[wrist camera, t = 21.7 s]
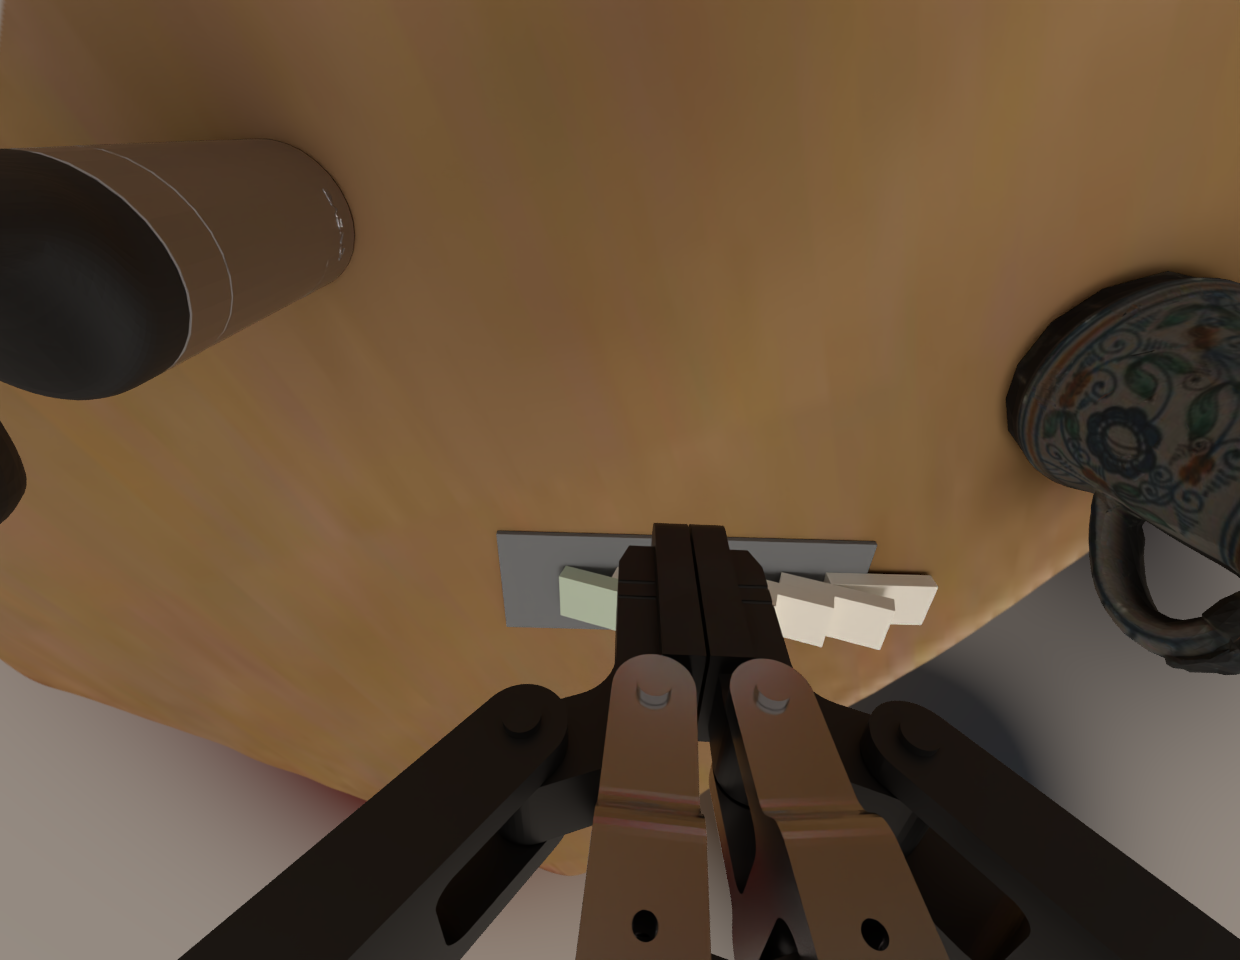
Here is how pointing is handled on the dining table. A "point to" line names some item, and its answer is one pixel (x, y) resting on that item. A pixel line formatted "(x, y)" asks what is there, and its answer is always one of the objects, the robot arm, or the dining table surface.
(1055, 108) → the dining table surface
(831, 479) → the dining table surface
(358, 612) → the dining table surface
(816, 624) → the domino
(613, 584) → the domino
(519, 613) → the mat
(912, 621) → the domino
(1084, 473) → the beer stein
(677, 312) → the dining table surface
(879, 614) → the domino
